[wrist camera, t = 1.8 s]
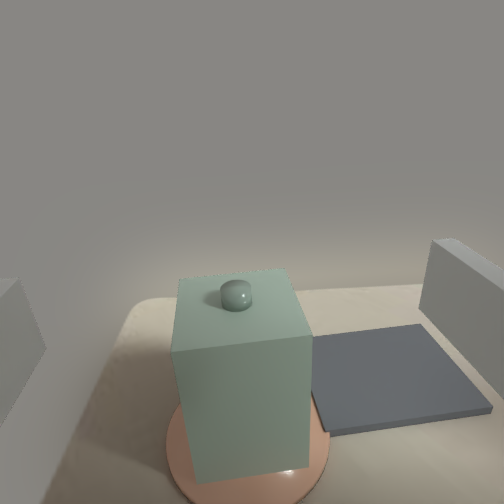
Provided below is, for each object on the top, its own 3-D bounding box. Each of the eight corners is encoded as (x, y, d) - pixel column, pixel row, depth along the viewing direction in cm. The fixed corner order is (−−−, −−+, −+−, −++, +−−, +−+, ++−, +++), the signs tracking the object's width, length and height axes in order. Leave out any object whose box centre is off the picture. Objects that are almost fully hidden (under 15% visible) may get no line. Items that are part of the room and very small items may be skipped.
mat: (419, 329, 39) (420, 323, 39) (490, 413, 30) (493, 406, 29) (294, 344, 38) (294, 339, 38) (325, 437, 28) (325, 430, 28)
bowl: (305, 364, 36) (306, 329, 34) (355, 503, 24) (360, 462, 22) (173, 381, 34) (166, 346, 33) (157, 536, 23) (145, 496, 21)
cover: (286, 382, 33) (284, 254, 27) (308, 467, 26) (313, 317, 20) (198, 394, 32) (177, 265, 26) (196, 484, 25) (167, 334, 19)
